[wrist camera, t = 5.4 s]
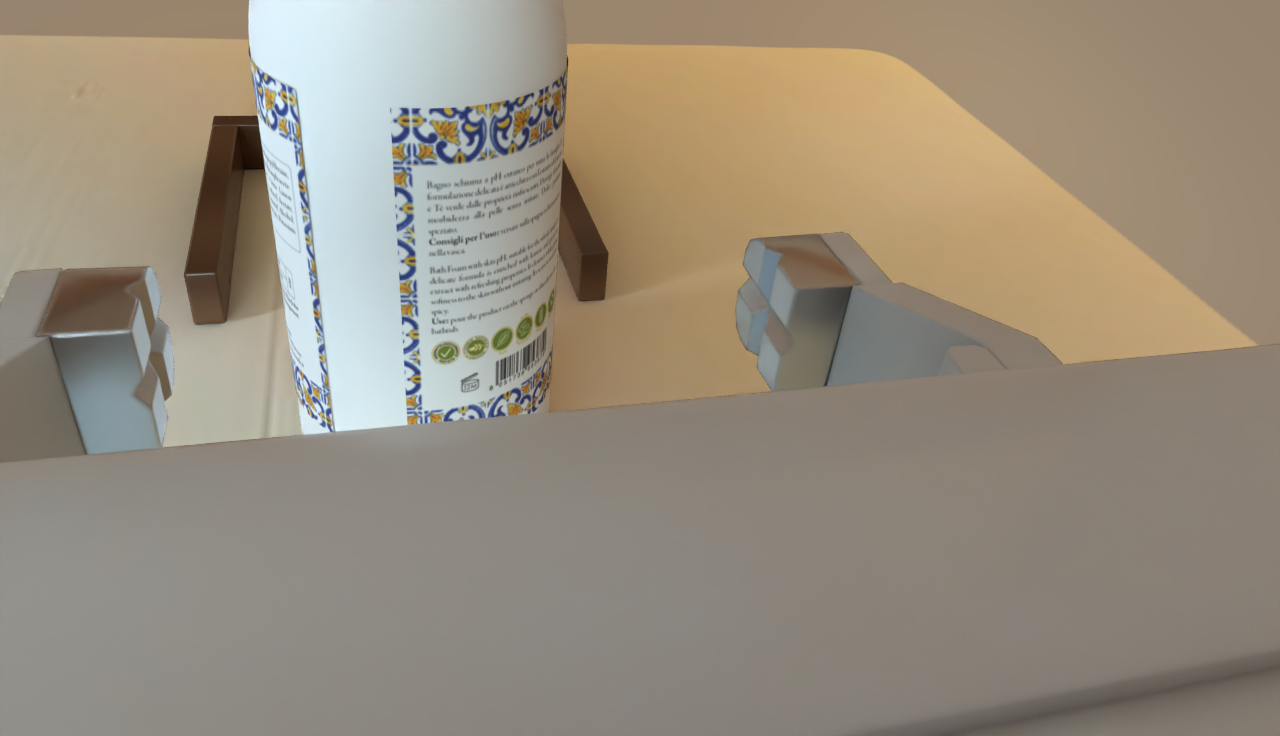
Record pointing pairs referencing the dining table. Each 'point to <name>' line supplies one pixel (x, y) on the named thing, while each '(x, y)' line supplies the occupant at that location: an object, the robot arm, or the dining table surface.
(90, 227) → the dining table surface
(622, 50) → the dining table surface
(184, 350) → the dining table surface
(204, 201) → the stand
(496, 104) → the bath foam
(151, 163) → the dining table surface
